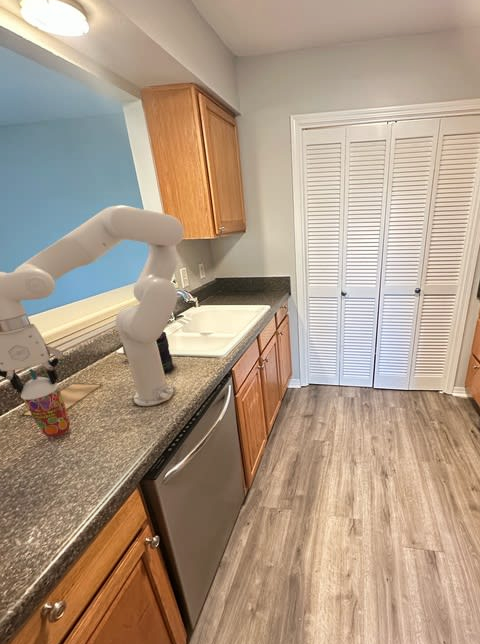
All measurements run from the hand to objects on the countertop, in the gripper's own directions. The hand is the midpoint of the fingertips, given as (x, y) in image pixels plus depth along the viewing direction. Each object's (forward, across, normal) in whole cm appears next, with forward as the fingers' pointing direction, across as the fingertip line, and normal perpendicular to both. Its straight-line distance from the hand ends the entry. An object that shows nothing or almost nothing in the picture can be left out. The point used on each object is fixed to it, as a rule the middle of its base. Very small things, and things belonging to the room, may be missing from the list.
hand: (37, 385), depth 87 cm
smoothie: (+15, 0, 0) cm, 15 cm away
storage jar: (+17, +32, +28) cm, 45 cm away
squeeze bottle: (+17, +24, +46) cm, 55 cm away
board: (+16, 0, +23) cm, 28 cm away
